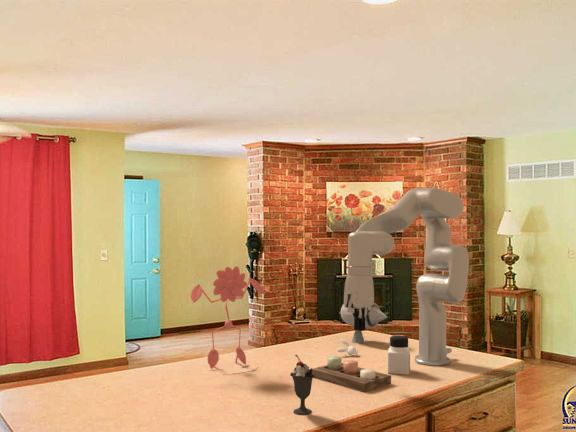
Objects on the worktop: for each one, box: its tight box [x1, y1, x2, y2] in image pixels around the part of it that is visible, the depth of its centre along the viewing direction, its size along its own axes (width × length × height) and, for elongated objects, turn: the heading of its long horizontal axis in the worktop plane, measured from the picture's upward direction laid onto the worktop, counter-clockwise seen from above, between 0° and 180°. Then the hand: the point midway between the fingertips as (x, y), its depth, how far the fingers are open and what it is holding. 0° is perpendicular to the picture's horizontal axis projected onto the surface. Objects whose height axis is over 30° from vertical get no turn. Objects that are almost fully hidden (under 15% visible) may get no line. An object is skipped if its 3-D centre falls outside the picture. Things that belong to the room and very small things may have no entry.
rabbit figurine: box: [336, 338, 359, 357], centre depth 216 cm, size 6×4×8 cm
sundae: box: [289, 354, 315, 416], centre depth 153 cm, size 7×7×15 cm
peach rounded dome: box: [342, 359, 359, 375], centre depth 183 cm, size 5×5×4 cm
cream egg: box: [360, 368, 376, 380], centre depth 178 cm, size 5×5×4 cm
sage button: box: [326, 355, 343, 371], centre depth 188 cm, size 5×5×4 cm
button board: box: [312, 362, 392, 393], centre depth 183 cm, size 13×22×3 cm, turn 43°
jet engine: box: [340, 302, 389, 344], centre depth 238 cm, size 15×20×18 cm
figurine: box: [190, 265, 266, 375], centre depth 196 cm, size 15×26×35 cm, turn 115°
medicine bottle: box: [387, 334, 411, 376], centre depth 194 cm, size 7×7×12 cm
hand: (359, 329), depth 180 cm, fingers closed
